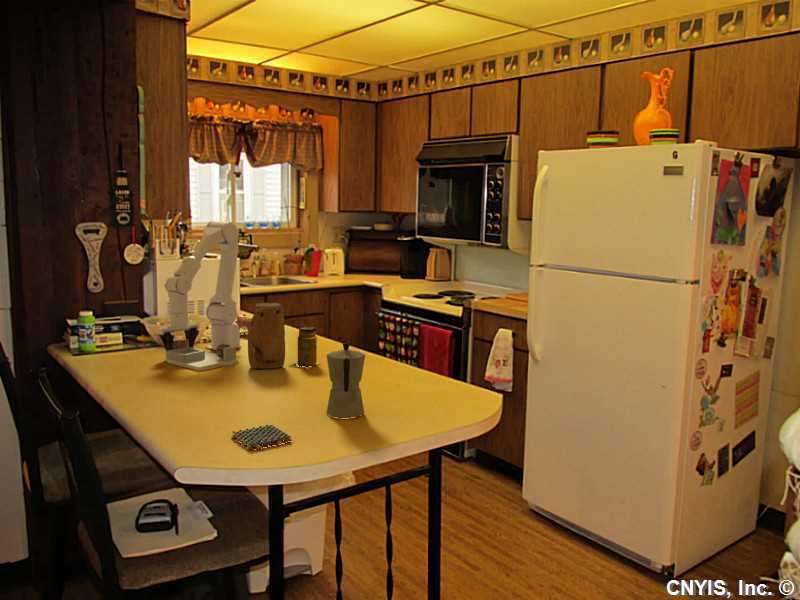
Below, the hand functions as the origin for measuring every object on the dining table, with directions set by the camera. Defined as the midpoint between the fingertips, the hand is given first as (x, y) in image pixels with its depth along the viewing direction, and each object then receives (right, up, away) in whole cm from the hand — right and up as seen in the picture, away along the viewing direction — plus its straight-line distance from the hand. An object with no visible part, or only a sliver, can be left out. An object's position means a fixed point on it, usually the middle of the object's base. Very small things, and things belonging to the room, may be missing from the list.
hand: (179, 353), depth 224 cm
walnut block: (0, -1, 0) cm, 2 cm away
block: (+31, -4, -10) cm, 32 cm away
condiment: (+42, -4, -7) cm, 43 cm away
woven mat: (+42, -14, -75) cm, 87 cm away
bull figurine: (+12, +4, +39) cm, 42 cm away
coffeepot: (+59, -11, -57) cm, 82 cm away
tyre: (+16, -1, -6) cm, 17 cm away
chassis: (+9, -3, -6) cm, 11 cm away
